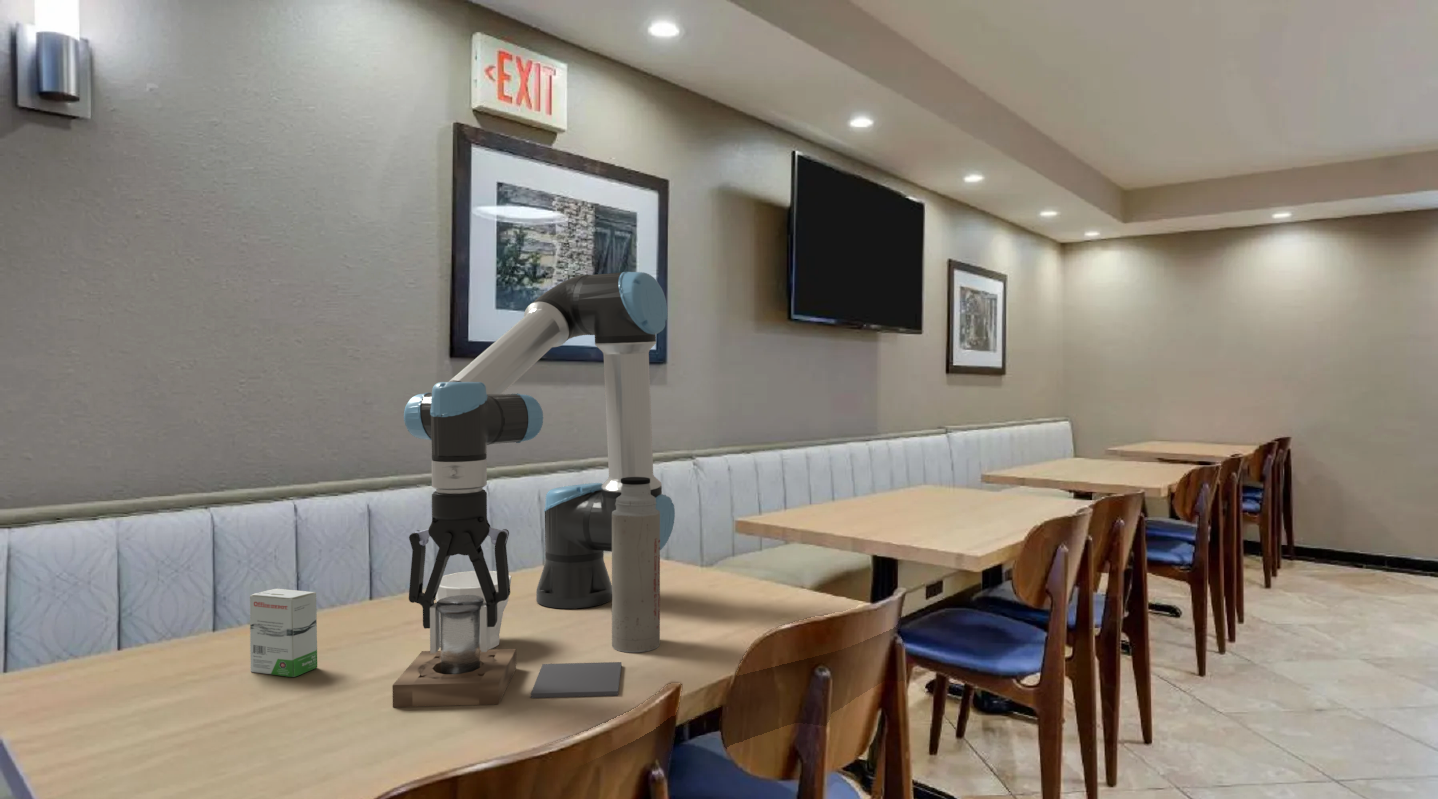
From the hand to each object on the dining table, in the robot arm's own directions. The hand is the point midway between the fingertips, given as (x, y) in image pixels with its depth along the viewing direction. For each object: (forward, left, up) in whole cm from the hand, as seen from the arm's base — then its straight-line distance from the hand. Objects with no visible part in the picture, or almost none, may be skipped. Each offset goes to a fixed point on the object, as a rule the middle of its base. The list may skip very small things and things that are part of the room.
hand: (460, 649), depth 117 cm
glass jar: (0, 0, -4) cm, 4 cm away
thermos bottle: (-17, +25, -6) cm, 30 cm away
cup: (-19, -2, -6) cm, 20 cm away
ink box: (-9, -28, -6) cm, 30 cm away
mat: (-1, +17, -5) cm, 18 cm away
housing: (0, 0, -5) cm, 5 cm away
